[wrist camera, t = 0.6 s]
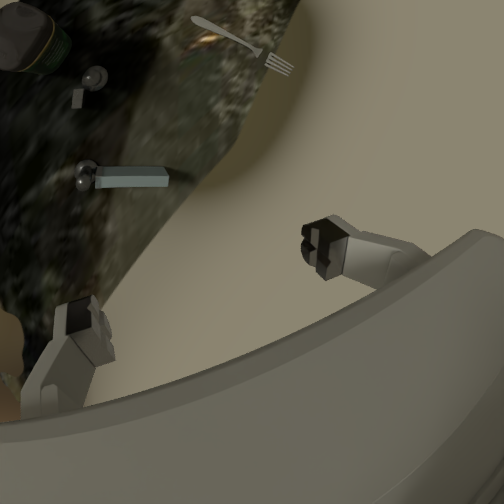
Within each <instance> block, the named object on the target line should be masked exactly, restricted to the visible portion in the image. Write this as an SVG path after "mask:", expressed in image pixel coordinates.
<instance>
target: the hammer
mask: <svg viewBox="0 0 504 504" xmlns="http://www.w3.org/2000/svg"><path fill="white" fill-rule="evenodd" d="M107 80H108V73H107V71H106V69H105V68H103V67H101V66H93V67H91V68H89V69H88V70H86V72H85V73H84V75H83V77H82V85H83V87H84V88H85V89H74V92H73V100H72V108H82V107H84V104H85V96H86V90H88V91H97V90H100V89H101V88H103V87H104V85H105V84H106V82H107Z"/></svg>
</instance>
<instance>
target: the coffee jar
mask: <svg viewBox="0 0 504 504" xmlns="http://www.w3.org/2000/svg"><path fill="white" fill-rule="evenodd" d="M71 46H72V41H71V38H70V37H69V36H68V35H67V34H66V33H65V32H64V31H63V30H62V29H61V28H60V27H59V26H58V25H57V24H56V23H55V22H54V21H53V20H52V18H51V17H50V16H48V15H47V14H46V13H44V12H43V11H41V10H39V9H38V8H36V7H34V6H31V5H28V4H25V3H22V2H13V3H10V4H7V5H5V6H4V7H2V8H1V9H0V69H1V70H8V71H12V72H20V71H23V72H30V73H36V74H41V75H48V74H51V73H53V72H54V71H56V70H57V69H58V68H59V67H60V65H61V64H62V63H63V61H64V60H65V58H66V57H67V55H68V54H69V52H70V50H71Z"/></svg>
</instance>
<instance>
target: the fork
mask: <svg viewBox="0 0 504 504" xmlns="http://www.w3.org/2000/svg"><path fill="white" fill-rule="evenodd" d="M191 20H192V21H193V22H194V23H195V24H197V25H198V26H201V27H203V28H206V29H208V30H210V31H213V32H215V33H218V34H220V35H223V36H225V37H228V38H230V39H233V40H235V41H237V42H239V43H241V44H243V45H245V46H247V47H248V48H250V49H251V50H252V51H253V52H254V53H255V56H256V57H258V56H259V55H260V53H261V52H262V50H263V49H258V48H255V47H253V46H252V45H250V44H248V43H246V42H245V41H243V40H241V39H239V38H237V37H236V36H234V35H232V34H230V33H229V32H227V31H225V30H224V29H222V28H220V27H218V26H216V25H215V24H213V23H211V22H209V21H207V20H205V19H203V18H201V17H198V16H192V17H191ZM271 55H273V56H274V57H276V58H278V59H279V60H281V61H283V62H284V63H286V64H288V65H289V66H291V67H293V66H292V65H290V64H289V63H287V62H286V61H284V60H283V59H281V58H280V57H278V56H276V55H275V54H273V53H271V52H270V54H269V56H268V58H269V59H271V60H273V61H275V62H277V63H279V64H280V65H282V66H284V67H286V68H288V69H290V68H289V67H287V66H286V65H284V64H282V63H280V62H279V61H277V60H275V59H274V58H272V57H271ZM269 59H267V60H266V62H267V63H270V64H272V65H274V66H276V67H278V68H280V69H282V70H284V71H286V72H288V71H287V70H285V69H283V68H282V67H280V66H278V65H276V64H274V63H273V62H271V61H269ZM267 63H265V65H266V66H267V67H269V68H271V69H273V70H276V71H278V72H280V73H282V74H284V75H286V76H288V75H287V74H285V73H283V72H282V71H280V70H278V69H276V68H274V67H272V66H270V65H268V64H267ZM290 70H292V69H290ZM288 73H290V72H288Z"/></svg>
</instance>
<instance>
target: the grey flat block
mask: <svg viewBox="0 0 504 504" xmlns="http://www.w3.org/2000/svg"><path fill="white" fill-rule="evenodd" d="M168 181H169V175H168V174H167V172H166V170H165V168H164V167H150V166H122V167H103V166H97V171H96V176H95V188H104V187H168Z"/></svg>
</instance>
